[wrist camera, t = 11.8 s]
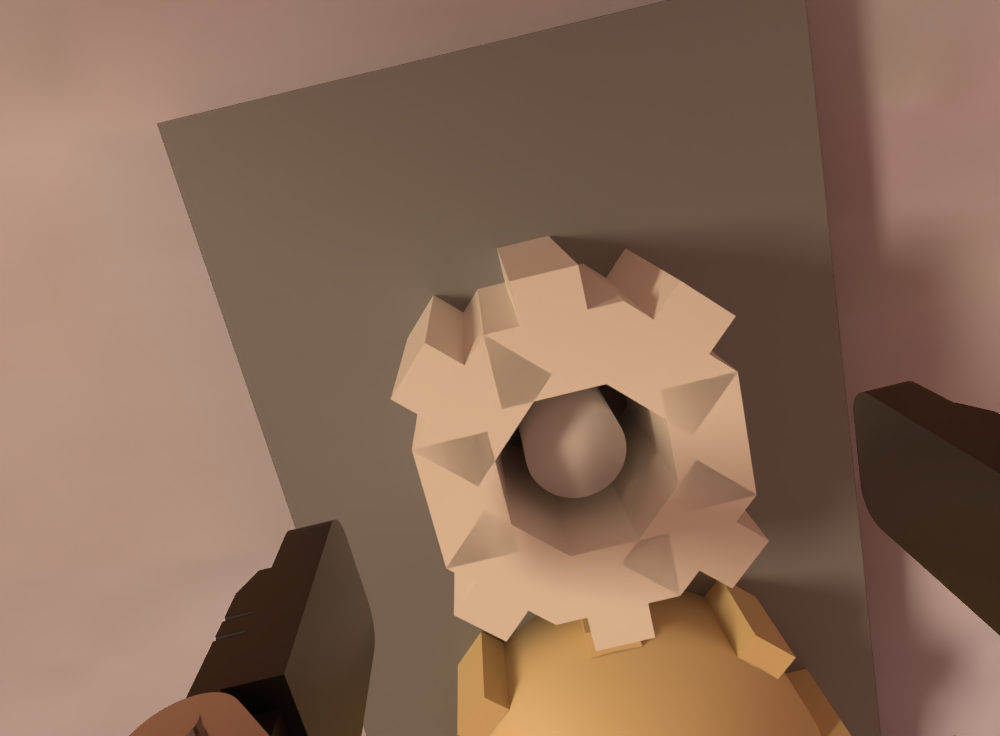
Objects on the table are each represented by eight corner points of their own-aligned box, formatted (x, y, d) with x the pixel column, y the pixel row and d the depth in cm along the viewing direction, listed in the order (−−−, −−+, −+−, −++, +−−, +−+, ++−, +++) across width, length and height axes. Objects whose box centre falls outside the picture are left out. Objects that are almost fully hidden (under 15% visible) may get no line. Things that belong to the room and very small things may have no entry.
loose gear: (389, 274, 17) (366, 316, 13) (656, 209, 17) (722, 229, 13) (469, 561, 19) (473, 680, 15) (707, 505, 19) (779, 608, 15)
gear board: (181, 125, 17) (9, 110, 11) (773, -17, 17) (973, -123, 11) (437, 891, 24) (429, 1175, 18) (865, 795, 24) (1022, 1045, 17)
